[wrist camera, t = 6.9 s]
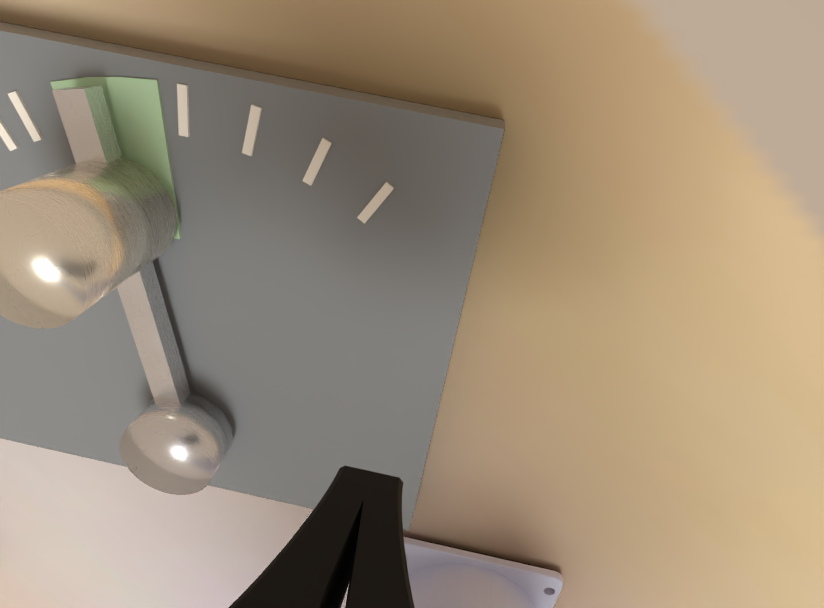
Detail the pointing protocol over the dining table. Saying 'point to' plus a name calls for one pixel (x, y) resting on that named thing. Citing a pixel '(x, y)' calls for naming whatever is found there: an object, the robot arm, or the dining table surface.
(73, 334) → the dial board
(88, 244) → the lever
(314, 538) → the robot arm
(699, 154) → the dining table surface
